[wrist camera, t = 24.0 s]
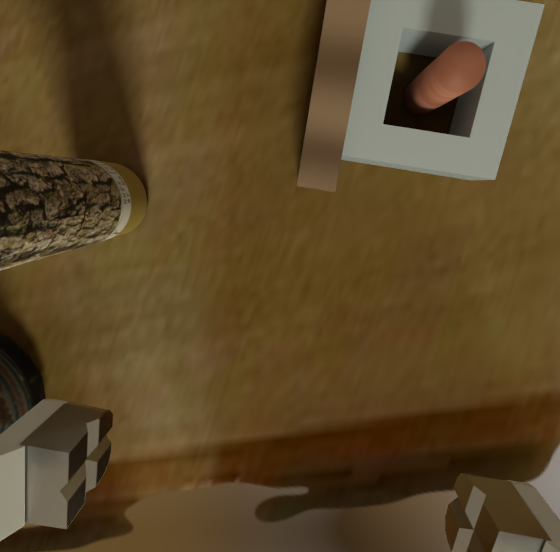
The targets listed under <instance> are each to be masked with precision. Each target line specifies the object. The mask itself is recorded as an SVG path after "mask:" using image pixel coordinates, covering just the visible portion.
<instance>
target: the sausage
mask: <svg viewBox="0 0 560 552" xmlns="http://www.w3.org/2000/svg"><path fill="white" fill-rule="evenodd" d="M485 68H486V59H485V55H484V53H483V51H482V50H481V48H480V47H479V46H478V45H476V44H475V43H472V42H469V41H460V42H456V43H454V44H452V45H451V46H449V47H448V48H447V49H446V50H445V51H444V52H442V53H441V54H440V55H439V56H438V57H437V58H436V59H435V60H434V61H433V62H432V63H431V64H430V65H428V66H427V67H426V68H425V69H424V70H423V71H422V72H421V73H420V74H419V75H418V76H417V77H416V78H415V79H413V80H412V81H411V82H410V83H409V84H408V85H407V87H406V89H405V91H404V94H403V102H404V106H405V108H406V109H407V110H408V111H409V112H410V113H412V114H414V115H424V114H427V113H429V112H431V111H432V110H434V109H436V108H438V107H440V106H442V105H443V104H445V103H447V102H449V101H451V100H452V99H454V98H456V97H458V96H460V95H462V94H463V93H465V92H467V91H469V90H471V89H472V88H474V87H475V86H476V85H477V84H478V83H479V82H480V81H481V79H482V77H483V75H484V72H485Z"/></svg>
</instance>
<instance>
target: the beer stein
mask: <svg viewBox="0 0 560 552" xmlns="http://www.w3.org/2000/svg"><path fill="white" fill-rule="evenodd" d="M43 399H45V394H44V387H43V380H42V378H41V376H40V374H39V372H38V371H37V369H36V367H35V366H34V364H33V362H32V360H31V359H30V357H29V356H28V355H27V354H26V353H25V352H24V351H23V350H21V349H20V348H19V347H18V346H17V345H16V344H15V343H14V342H13V341H12V340H10V339H9V338H8V337H6V336H4V335H1V334H0V434H1V433H3V432H4V431H5V430H6V429H7V428H9V427H10V426H11V425H12V424H14V423H15V422H16V421H17V420H18V419H20V418H21V417H22V416H23V415H25V414H26V413H27V412H28V411H29V410H31V409H32V408H33V407H34V406H36V405H37V404H38V403H39V402H40V401H42V400H43Z"/></svg>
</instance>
